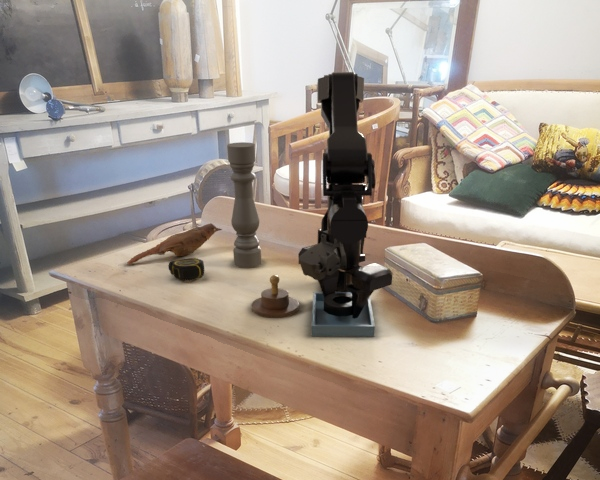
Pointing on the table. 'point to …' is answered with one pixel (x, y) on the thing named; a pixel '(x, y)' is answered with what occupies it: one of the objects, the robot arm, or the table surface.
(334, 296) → the ring
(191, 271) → the tape measure
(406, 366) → the table surface
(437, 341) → the table surface
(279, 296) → the wooden peg stand
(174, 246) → the bird sculpture
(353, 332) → the tray
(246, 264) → the candle holder
